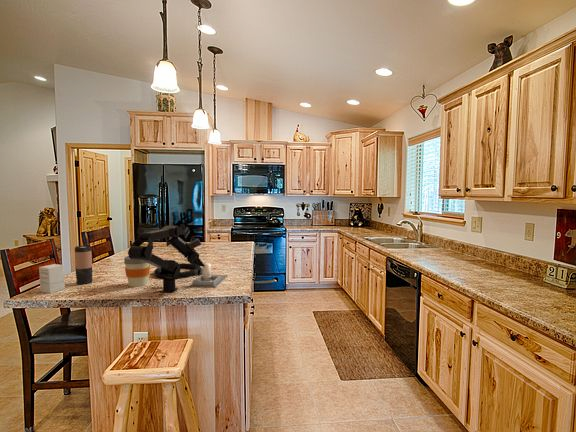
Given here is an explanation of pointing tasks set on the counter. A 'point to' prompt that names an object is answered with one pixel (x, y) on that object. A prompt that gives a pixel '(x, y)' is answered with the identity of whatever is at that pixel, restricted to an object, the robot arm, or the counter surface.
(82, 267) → the travel mug
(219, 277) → the holder dock
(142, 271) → the reusable coffee cup
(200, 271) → the cable lock
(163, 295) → the counter surface
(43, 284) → the supplement box
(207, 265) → the light bulb lamp
